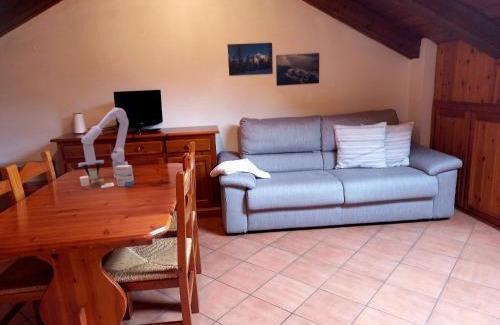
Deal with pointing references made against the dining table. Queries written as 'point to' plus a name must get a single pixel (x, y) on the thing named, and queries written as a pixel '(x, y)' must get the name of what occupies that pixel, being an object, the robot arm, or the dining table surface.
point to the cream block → (84, 180)
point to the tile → (108, 185)
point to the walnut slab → (97, 183)
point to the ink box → (124, 175)
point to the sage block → (93, 174)
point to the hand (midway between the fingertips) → (93, 175)
